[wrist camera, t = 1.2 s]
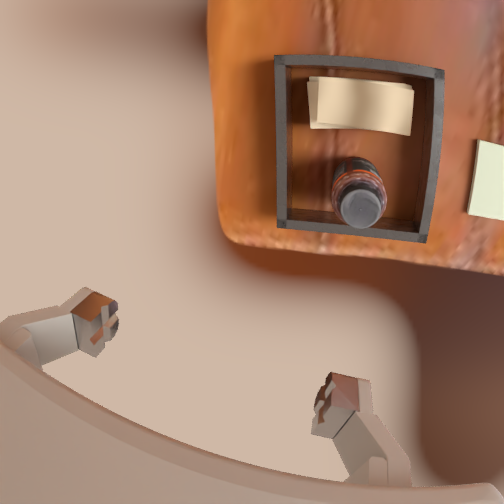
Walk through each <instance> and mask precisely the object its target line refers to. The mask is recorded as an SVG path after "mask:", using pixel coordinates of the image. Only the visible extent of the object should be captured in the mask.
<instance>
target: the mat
mask: <svg viewBox="0 0 504 504" xmlns="http://www.w3.org/2000/svg"><path fill="white" fill-rule="evenodd" d="M467 213H468V214H470V215H476V216H482V217H487V218H493V219H499V220H504V146H502V145H498V144H495V143H491V142H487V141H482V140H477V149H476V158H475V165H474V172H473V179H472V185H471V191H470V197H469V202H468V207H467Z"/></svg>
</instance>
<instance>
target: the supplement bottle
mask: <svg viewBox="0 0 504 504" xmlns="http://www.w3.org/2000/svg"><path fill="white" fill-rule="evenodd" d="M331 201H332V206H333V209H334V211H335V213H336V215H337V216H338V217H339V218H340V219H341V220H342V221H343V222H345V223H347V224H348V225H350V226H351V227H354V228H358V229H364V228H368V227H370V226H372V225H373V224H375V223H376V222H377V220H378V219H379V218H380V217H381V216H382V214H383V213H384V211H385V209H386V205H387V194H386V190H385V187H384V185H383V182H382V180H381V178H380V176H379V173H378V171H377V169H376V168H375V166H374V165H373V164H372V163H371V162H369V161H368V160H366V159H364V158H360V157H352V158H348V159H346V160H344V161H342V162H341V163H340V164H339V165H338V166H337V168H336V170H335V172H334V176H333V185H332V194H331Z"/></svg>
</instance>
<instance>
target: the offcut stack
mask: <svg viewBox="0 0 504 504" xmlns="http://www.w3.org/2000/svg"><path fill="white" fill-rule="evenodd" d="M307 89H308V100H309V113H310V126H311V129H319V128H347V129H366V130H376V131H384V132H391V133H396V134H402V135H407V136H410V132H411V122H412V112H413V100H414V90H412V85H406V84H403V83H391V82H382V81H373V80H363V79H351V78H336V77H311V76H309V82H307Z"/></svg>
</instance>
